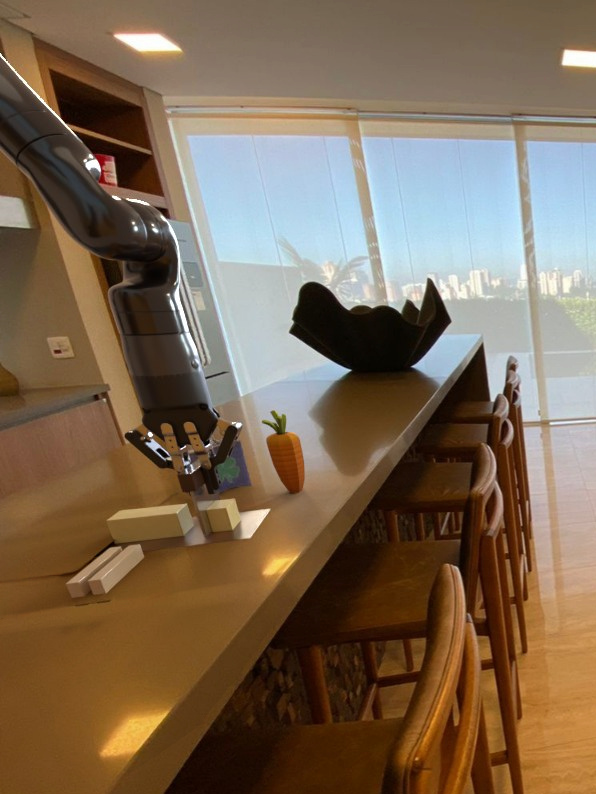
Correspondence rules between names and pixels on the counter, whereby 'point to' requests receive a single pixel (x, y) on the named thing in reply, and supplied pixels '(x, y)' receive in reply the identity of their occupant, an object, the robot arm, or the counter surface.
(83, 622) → the counter surface
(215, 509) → the butter slice
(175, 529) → the butter
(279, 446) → the carrot
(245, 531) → the board
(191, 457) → the flask
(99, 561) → the rest
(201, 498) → the dough scraper
